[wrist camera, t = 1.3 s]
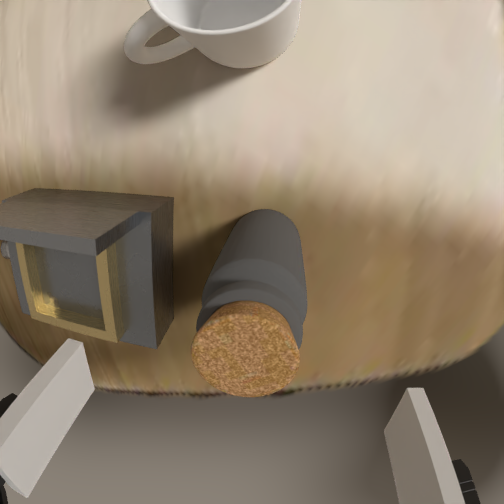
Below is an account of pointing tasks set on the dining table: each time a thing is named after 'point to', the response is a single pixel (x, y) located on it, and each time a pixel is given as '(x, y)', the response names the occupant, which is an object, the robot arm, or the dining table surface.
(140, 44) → the mug
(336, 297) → the dining table surface
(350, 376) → the dining table surface
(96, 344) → the dining table surface
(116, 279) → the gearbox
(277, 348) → the bottle
